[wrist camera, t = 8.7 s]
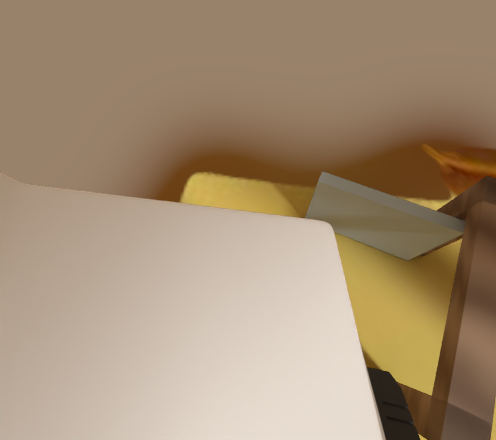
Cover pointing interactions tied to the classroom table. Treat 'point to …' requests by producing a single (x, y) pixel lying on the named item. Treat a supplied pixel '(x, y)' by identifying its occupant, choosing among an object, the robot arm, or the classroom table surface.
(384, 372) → the robot arm
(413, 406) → the door frame
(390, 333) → the classroom table surface
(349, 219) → the door
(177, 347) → the milk
